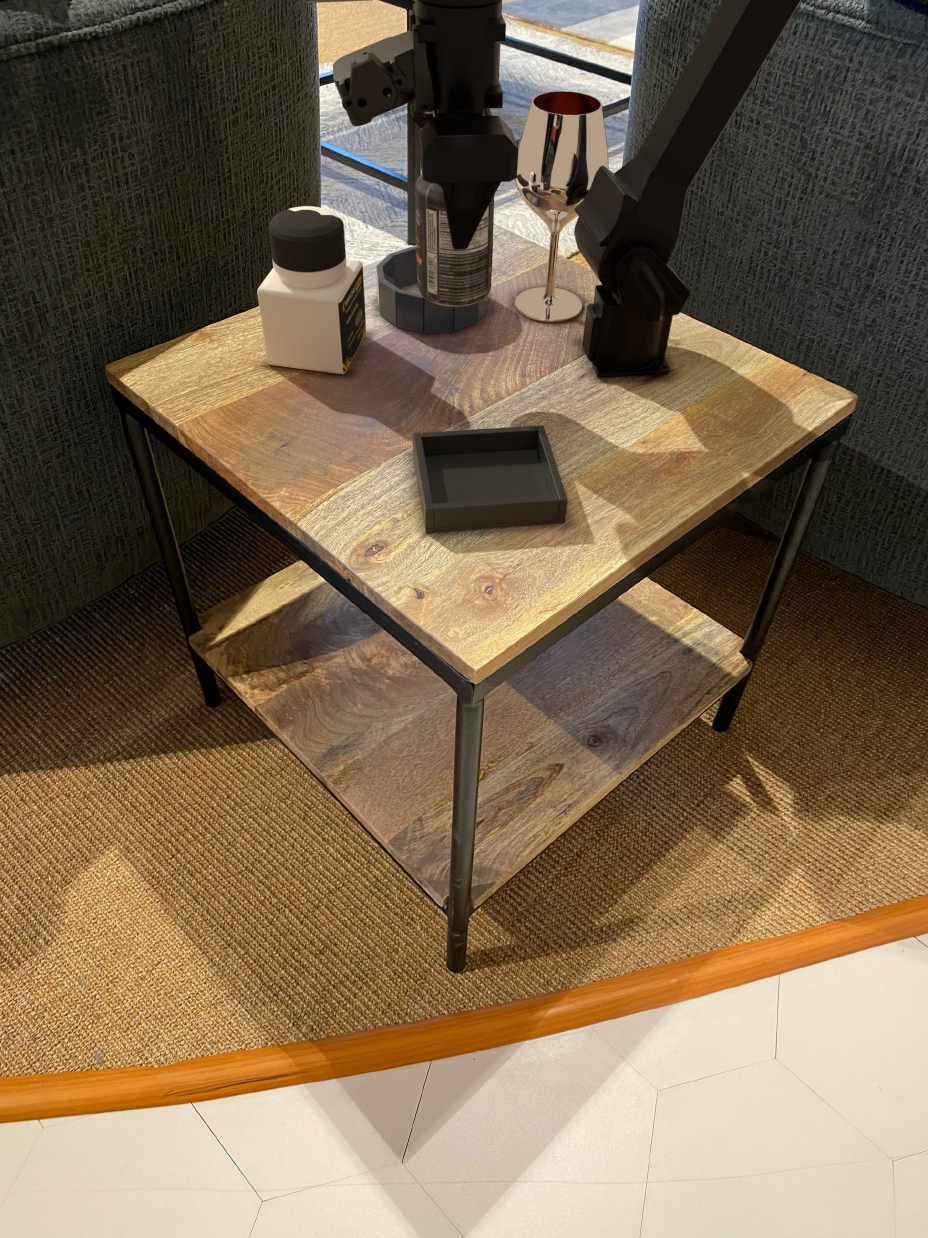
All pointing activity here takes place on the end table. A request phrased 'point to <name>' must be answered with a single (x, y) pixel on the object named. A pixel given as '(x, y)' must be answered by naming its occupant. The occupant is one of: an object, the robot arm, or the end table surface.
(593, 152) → the wineglass
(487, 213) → the pill bottle
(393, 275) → the bowl
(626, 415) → the end table surface
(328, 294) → the medicine bottle
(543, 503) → the tray
